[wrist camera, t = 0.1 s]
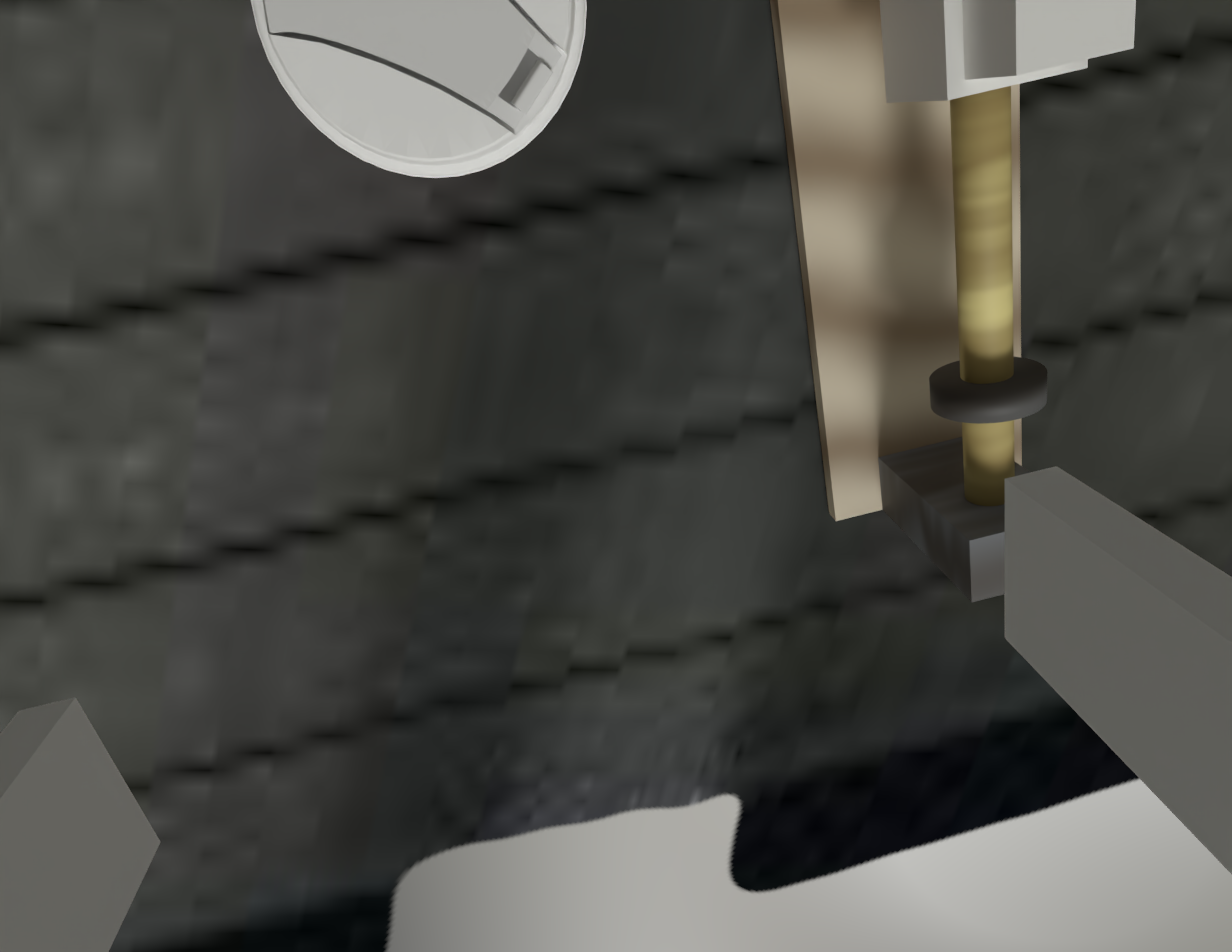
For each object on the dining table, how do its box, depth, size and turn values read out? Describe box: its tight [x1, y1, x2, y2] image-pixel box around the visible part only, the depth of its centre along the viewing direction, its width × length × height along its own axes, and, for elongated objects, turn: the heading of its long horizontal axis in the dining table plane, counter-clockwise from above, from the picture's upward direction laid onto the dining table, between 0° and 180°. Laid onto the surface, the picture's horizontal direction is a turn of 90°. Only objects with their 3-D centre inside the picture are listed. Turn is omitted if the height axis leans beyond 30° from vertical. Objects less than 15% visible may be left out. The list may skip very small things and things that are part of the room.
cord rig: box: [770, 0, 1047, 602], centre depth 32 cm, size 34×10×10 cm, turn 12°
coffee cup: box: [251, 0, 587, 178], centre depth 26 cm, size 8×8×15 cm
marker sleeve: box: [880, 0, 1136, 103], centre depth 27 cm, size 5×5×8 cm
